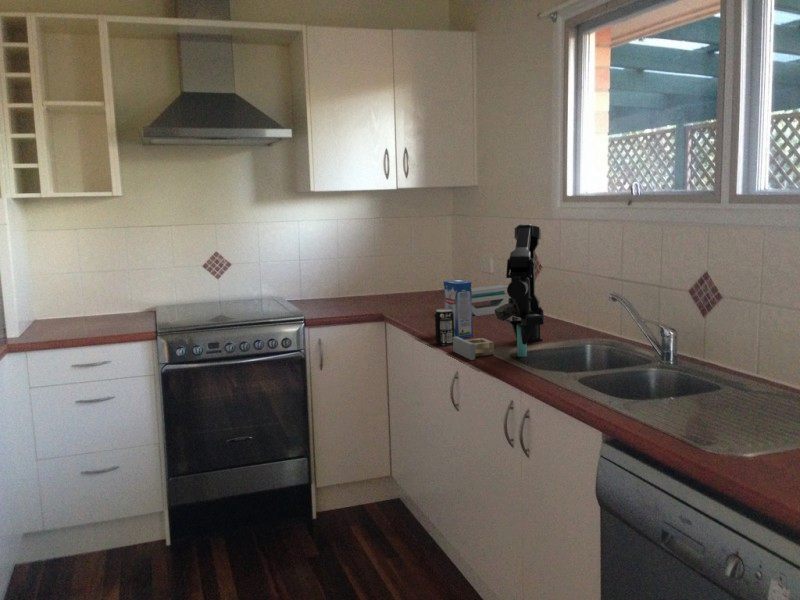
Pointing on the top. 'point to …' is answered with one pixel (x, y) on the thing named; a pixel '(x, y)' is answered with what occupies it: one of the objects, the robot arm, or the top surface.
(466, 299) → the milk carton
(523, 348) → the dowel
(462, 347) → the wall
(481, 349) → the sliding block
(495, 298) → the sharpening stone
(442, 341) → the beverage can
